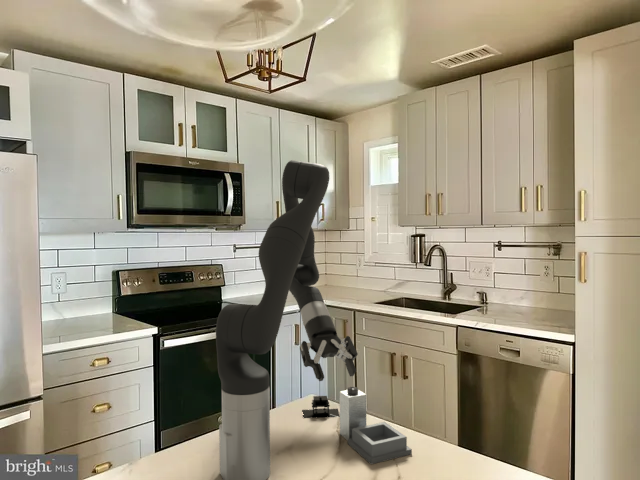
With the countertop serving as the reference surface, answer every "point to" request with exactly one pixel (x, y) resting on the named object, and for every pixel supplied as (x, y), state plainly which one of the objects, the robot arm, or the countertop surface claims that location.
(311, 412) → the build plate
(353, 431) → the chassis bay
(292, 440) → the countertop surface
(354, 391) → the knobbed grey block
